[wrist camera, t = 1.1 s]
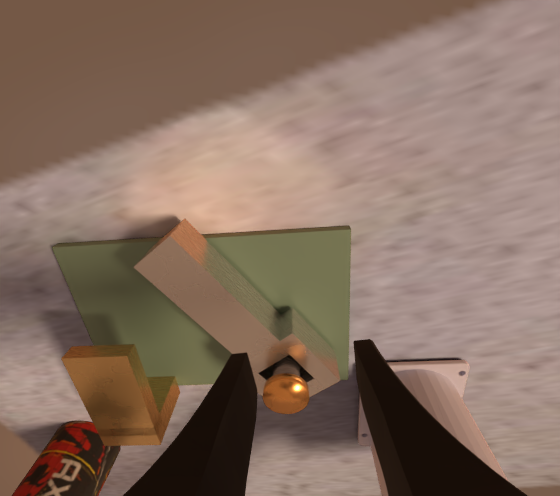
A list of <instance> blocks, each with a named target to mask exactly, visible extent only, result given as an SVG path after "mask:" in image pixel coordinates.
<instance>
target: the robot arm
mask: <svg viewBox="0 0 560 496" xmlns="http://www.w3.org/2000/svg"><path fill="white" fill-rule="evenodd" d="M354 352H355V363H356V375H357V383H358V388H359V393H360V396H359V420H358V443H359V444H360V445H361V446H371V450H372V454H373V459H374V463H375V467H376V472H377V476H378V481H379V485H380V489H381V494H382V496H527V495H526V494H525V493H523V492H522V491H520V490H519V489H518V488H516V487H515V486H514V485H512V484H511V483H510V482H509V481H508V479H507V478H506V476H505V474H504V472H503V471H502V469H501V467H500V465H499V463H498V462H497V460H496V458H495V456H494V455H493V453H492V451H491V449H490V448H489V446H488V444H487V442H486V440H485V439H484V437H483V435H482V433H481V432H480V430H479V428H478V426H477V425H476V423H475V421H474V419H473V417H472V416H471V414H470V412H469V410H468V409H467V407H466V405H465V403H464V402H463V400H462V397H463V393H464V389H465V385H466V381H467V376H468V372H469V368H470V366H469V364H468V363H467V361H465V360H445V361H416V362H388V363H387V362H386V361H385V359H384V358H383V357H382V355H381V354H380V352H379V351H378V349H377V347H376V346H375V344H374V342H373V341H372V340H370V339H368V340H358V341H354ZM256 412H257V386H256V383H255V379H254V375H253V372H252V368H251V365H250V361H249V357H248V354H247V352H245V353H236V354H232V355H231V356H230V357H229V359H228V361H227V362H226V364H225V366H224V368H223V369H222V371H221V373H220V375H219V376H218V378H217V380H216V381H215V383H214V385H213V386H212V388H211V389H210V391H209V392H208V394H207V395H206V397H205V399H204V400H203V402H202V403H201V405H200V406H199V408H198V409H197V410H196V412H195V413H194V415H193V416H192V417H191V419H190V420H189V422H188V423H187V424H186V426H185V427H184V428H183V430H182V431H181V432H180V434H179V435H178V436H177V437H176V439H175V440H174V441H173V442H172V444H171V445H170V446H169V447H168V448H167V450H166V451H165V452H164V453H163V454H162V455H161V456H160V458H159V459H158V460H157V461H156V462H155V463H154V464H153V465H152V467H151V468H150V469H149V470H148V471H147V472H146V473H145V474H144V475H143V476H142V477H141V478H140V479H139V480H138V481H137V482H136V483H135V484H134V485H133V486H132V487H131V488H130V489H129V490H128V491H127V492H126V493H125V494H124V495H123V496H245V490H246V481H247V474H248V468H249V461H250V455H251V448H252V442H253V435H254V429H255V422H256Z"/></svg>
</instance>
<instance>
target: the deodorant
mask: <svg viewBox="0 0 560 496" xmlns="http://www.w3.org/2000/svg"><path fill="white" fill-rule="evenodd" d="M119 451H120V446H104V444H103V442H102V440H101V437H100V435H99V433H98V431H97V429H96V427H95V425H94V423H92V422H87V421H72V422H68V423H65V424H63V425H62V426H61V427H60V428H59V429H58V430H57V432H56V433H55V434H54V436H53V437H52V439H51V440H50V442H49V443H48V444H47V446H46V447H45V449H44V450H43V452H42V453H41V454H40V456H39V457H38V459H37V460H36V462H35V463H34V464H33V466H32V467H31V469H30V470H29V472H28V473H27V475H26V476H25V477H24V479H23V480H22V482H21V483H20V485H19V486H18V488H17V489H16V490H15V492H14V493H13V495H12V496H98V495H99V493H100V491H101V489H102V487H103V485H104V483H105V481H106V478H107V476H108V474H109V472H110V470H111V468H112V466H113V464H114V462H115V460H116V458H117V456H118V454H119Z"/></svg>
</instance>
